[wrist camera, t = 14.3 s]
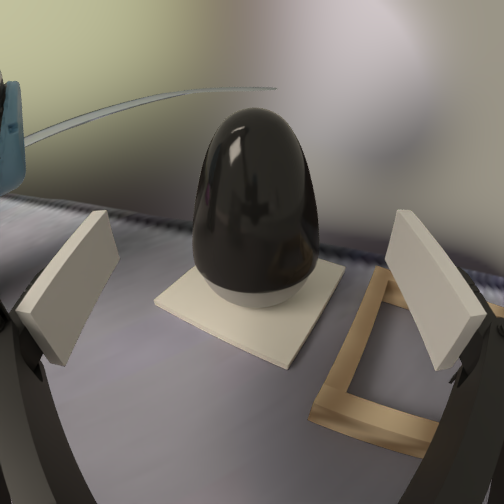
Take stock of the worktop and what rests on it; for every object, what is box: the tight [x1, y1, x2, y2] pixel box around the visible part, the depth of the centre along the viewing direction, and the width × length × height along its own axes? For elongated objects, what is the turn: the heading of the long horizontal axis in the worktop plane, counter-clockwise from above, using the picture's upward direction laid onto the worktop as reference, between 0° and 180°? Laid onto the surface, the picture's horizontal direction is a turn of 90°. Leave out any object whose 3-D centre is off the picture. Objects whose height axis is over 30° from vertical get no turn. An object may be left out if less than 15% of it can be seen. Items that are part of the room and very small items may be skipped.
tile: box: [154, 258, 346, 370], centre depth 28 cm, size 13×13×1 cm
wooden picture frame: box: [308, 266, 504, 459], centre depth 18 cm, size 15×15×2 cm
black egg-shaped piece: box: [192, 108, 319, 308], centre depth 23 cm, size 10×10×15 cm
